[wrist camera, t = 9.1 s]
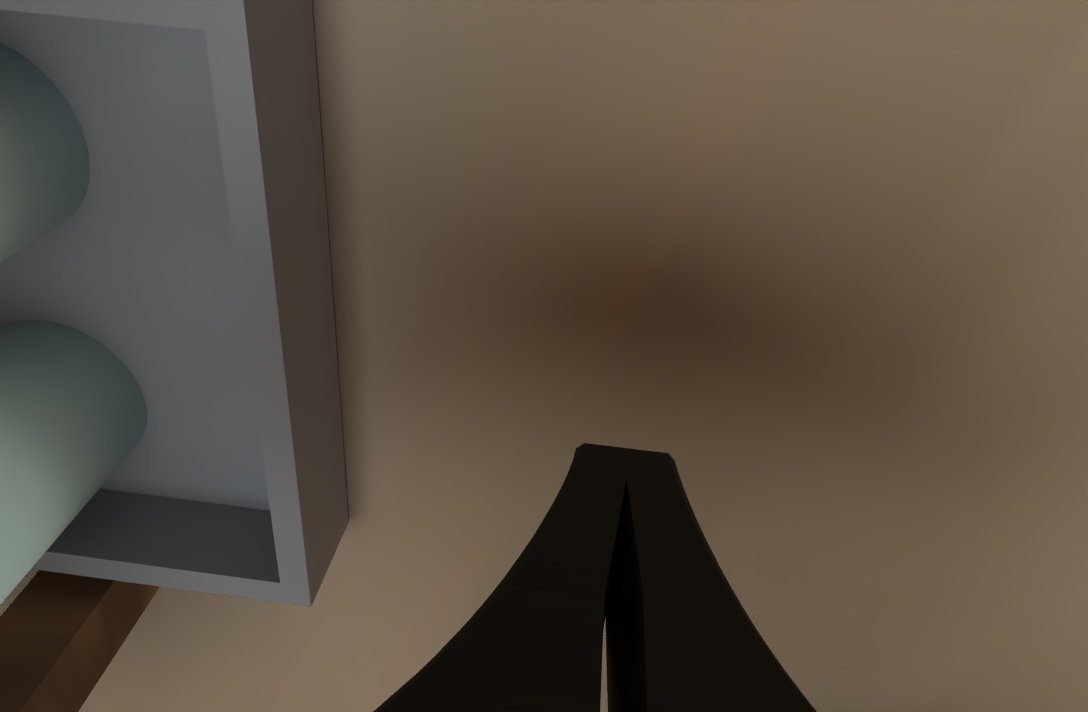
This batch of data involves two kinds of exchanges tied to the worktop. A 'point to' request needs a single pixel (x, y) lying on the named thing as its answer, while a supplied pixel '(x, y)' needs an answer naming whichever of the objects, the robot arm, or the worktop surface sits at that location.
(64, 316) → the tray
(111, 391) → the pale green rounded cylinder
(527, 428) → the worktop surface
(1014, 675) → the worktop surface
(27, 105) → the mint green capsule
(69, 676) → the small wooden stool
